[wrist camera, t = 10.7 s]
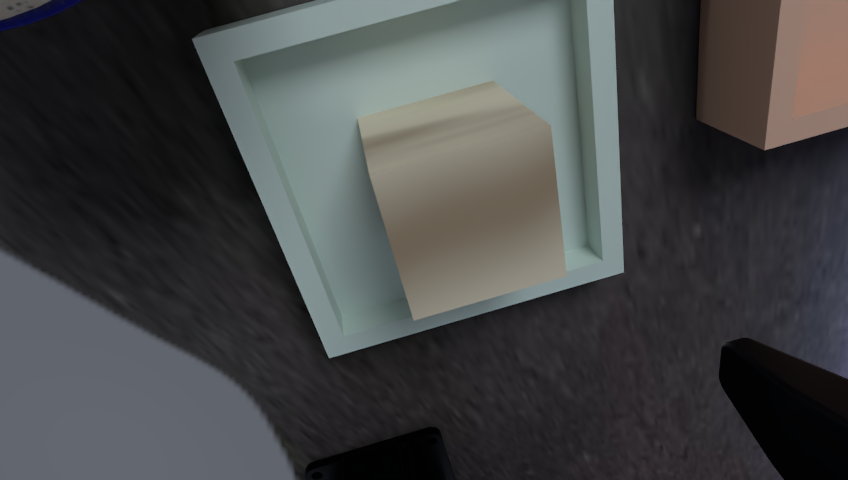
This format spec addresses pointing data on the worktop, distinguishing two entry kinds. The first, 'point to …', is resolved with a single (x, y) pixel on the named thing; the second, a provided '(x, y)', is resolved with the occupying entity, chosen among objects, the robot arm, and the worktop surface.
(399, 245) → the birch block
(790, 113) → the dish
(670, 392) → the worktop surface
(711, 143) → the worktop surface
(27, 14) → the teacup with lid
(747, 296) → the worktop surface
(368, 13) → the tray
